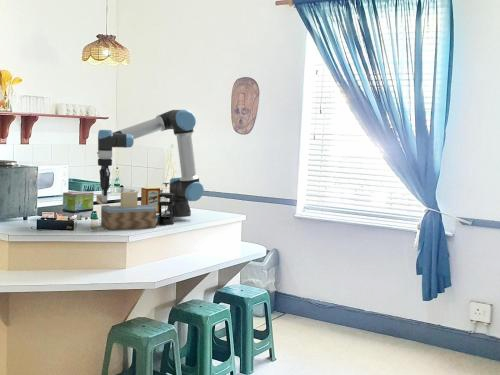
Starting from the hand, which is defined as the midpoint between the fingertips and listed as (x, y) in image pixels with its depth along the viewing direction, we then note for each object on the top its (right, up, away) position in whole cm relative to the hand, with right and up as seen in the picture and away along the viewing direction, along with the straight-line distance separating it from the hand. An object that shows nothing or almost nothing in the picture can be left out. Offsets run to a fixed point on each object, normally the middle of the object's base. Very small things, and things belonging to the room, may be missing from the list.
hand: (104, 201), depth 338 cm
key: (-3, -1, +5) cm, 5 cm away
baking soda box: (+17, -8, +48) cm, 51 cm away
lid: (+14, -6, -5) cm, 16 cm away
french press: (+32, -13, +10) cm, 36 cm away
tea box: (-20, -10, +20) cm, 30 cm away
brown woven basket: (+13, -13, -3) cm, 19 cm away
